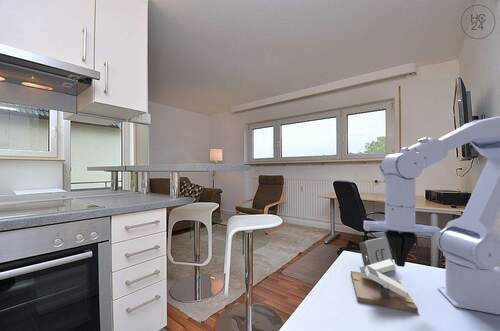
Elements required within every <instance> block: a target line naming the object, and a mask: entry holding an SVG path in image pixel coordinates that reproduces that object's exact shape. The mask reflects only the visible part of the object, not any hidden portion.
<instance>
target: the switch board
mask: <svg viewBox="0 0 500 331" xmlns="http://www.w3.org/2000/svg"><path fill="white" fill-rule="evenodd" d="M350 277H351V281H352V285H353V290H354V293H355V297H356V301H357V302H360V303H366V304H369V305H375V306H379V307H380V306H381V307H386V308H391V309H395V310H401V311H405V312H410V313H411V312H412V313H415V314H418V313H419V310H418V309H419V308H418V306H417V305H416V304H415V302H414V300H413V299H412V297H411V296H410V295H409V293H408V291H407V290H406V288H405V287H404V286H403V284H402V282H401V281H400V279H399V278H397V277H391V276H388V277H389V278H391V279H392V280H394V281H396V282H398V283H400V284H402V286H403V287H404V289H405V290H406V292H407V294H406V296H405V297H403V296H401V295H399V294H398V293H396V292H394V291H392V290H390V289H389V288H384V287H383V285H381V284H379V283H378V282H376V281H374V280H372V279H370V278H369V277H367V278H364V277H363V275H362V273H361V271H353V270H350Z"/></svg>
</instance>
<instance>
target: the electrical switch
mask: <svg viewBox="0 0 500 331" xmlns="http://www.w3.org/2000/svg"><path fill="white" fill-rule="evenodd" d="M358 245H359V249H360V254H361V258H362V259H361V260H362V262H363V266H366V265H371V264H374V263H377V262H381V261H384V260H387V259H390V260H391V261H392V262H393V264H394V265H395V262H394V258H393V255H392V253H391V247H390V244H389V241H388V239H387V237H378V238H372V239H368V240H365V241H363V242H359V243H358Z"/></svg>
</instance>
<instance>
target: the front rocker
mask: <svg viewBox="0 0 500 331" xmlns="http://www.w3.org/2000/svg"><path fill="white" fill-rule="evenodd" d="M365 272H366V275H367V277H369V278H370V279H372V280H374V281H376V282H378V283H379V284H381V285H383V287H384V288H389V289H390V290H392V291H394V292H396V293H398V294H399V295H401V296H403V297H405V296H406V294H407V293H408V291H407V290H406V288H405V287H404V286H402V285H403V284H402V283H401V284H400V283H398V282H396V281H394V280H392V279H391V278H389V277H390V276H387V275H385V274H384V273H382V274H381V273H379V272H378V271H376V270H375V269H373V268H371V267H369V266H366V268H365ZM404 288H405V289H404ZM406 291H407V292H406Z"/></svg>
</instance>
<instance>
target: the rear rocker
mask: <svg viewBox="0 0 500 331" xmlns="http://www.w3.org/2000/svg"><path fill="white" fill-rule="evenodd" d="M393 263H394V261H393V262H392V261H391V260H390V259H387V260H384V261H381V262H377V263H374V264H371V265H366V266H369V267H371V268H373V269H375V270H376V271H378V272H379V273H381V274H384V273H388V272H391V271H394V270H397V268H396V267H397V266H396V264H395V263H394V264H393ZM366 266H364V265H363V266H360V267H359V270H360V272H361V273H362V275H363V277H364V278H367V275H366V272H365V268H366Z"/></svg>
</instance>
